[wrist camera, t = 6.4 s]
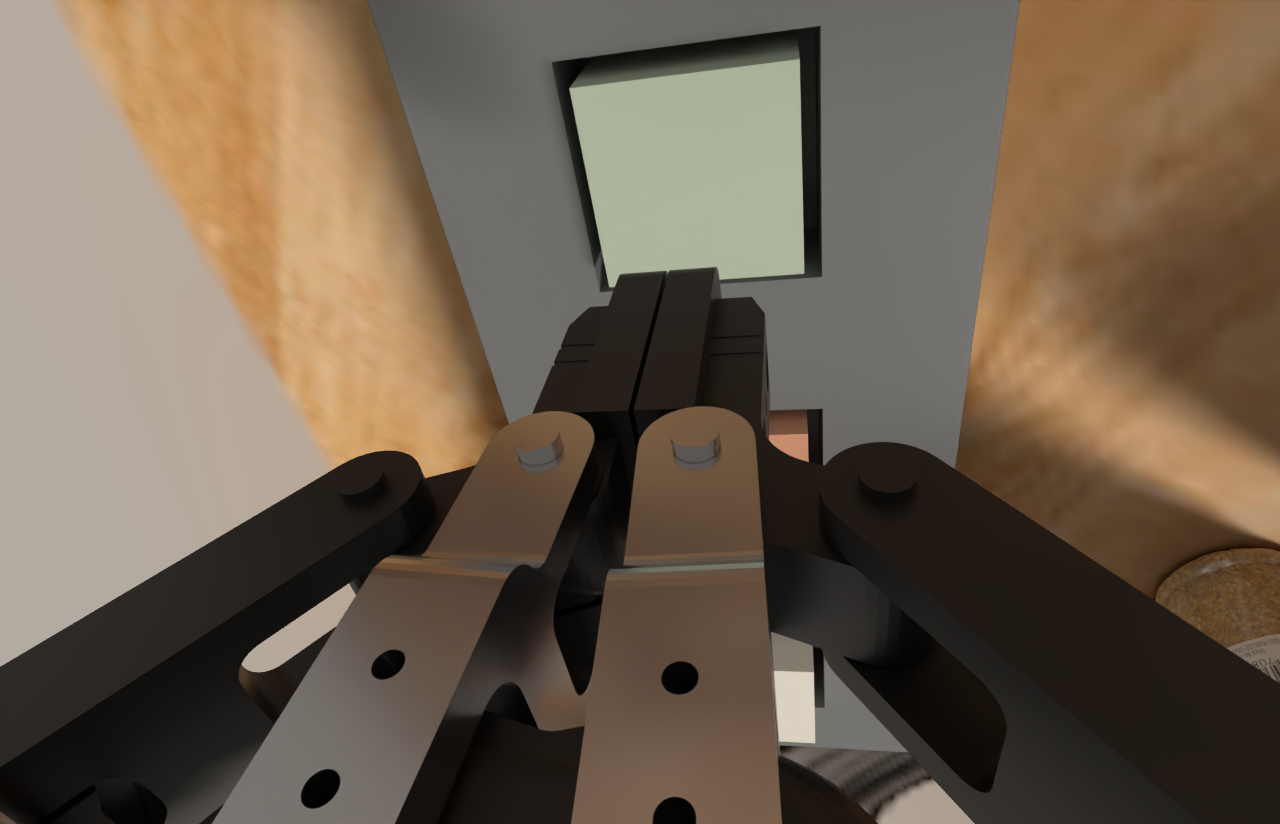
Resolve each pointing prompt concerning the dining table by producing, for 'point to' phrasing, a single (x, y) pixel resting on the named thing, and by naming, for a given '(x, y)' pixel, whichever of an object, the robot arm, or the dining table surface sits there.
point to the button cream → (794, 689)
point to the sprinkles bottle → (1232, 602)
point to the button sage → (696, 156)
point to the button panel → (832, 204)
